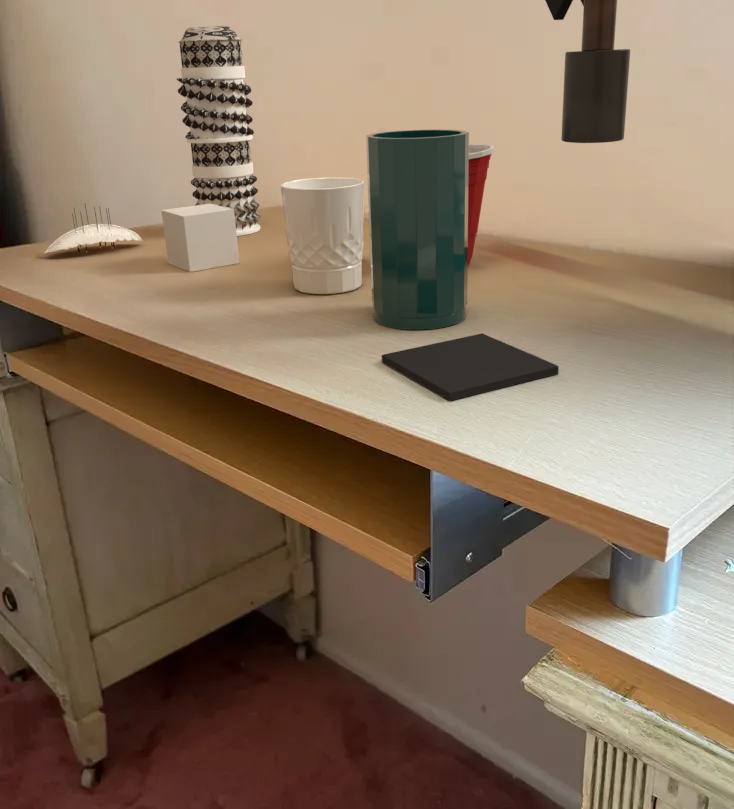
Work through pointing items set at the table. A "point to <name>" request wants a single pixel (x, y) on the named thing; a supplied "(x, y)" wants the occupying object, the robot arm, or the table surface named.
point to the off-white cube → (200, 237)
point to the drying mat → (468, 366)
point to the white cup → (325, 233)
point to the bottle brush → (596, 80)
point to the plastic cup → (476, 189)
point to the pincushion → (92, 235)
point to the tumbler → (418, 227)
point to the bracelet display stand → (219, 122)
